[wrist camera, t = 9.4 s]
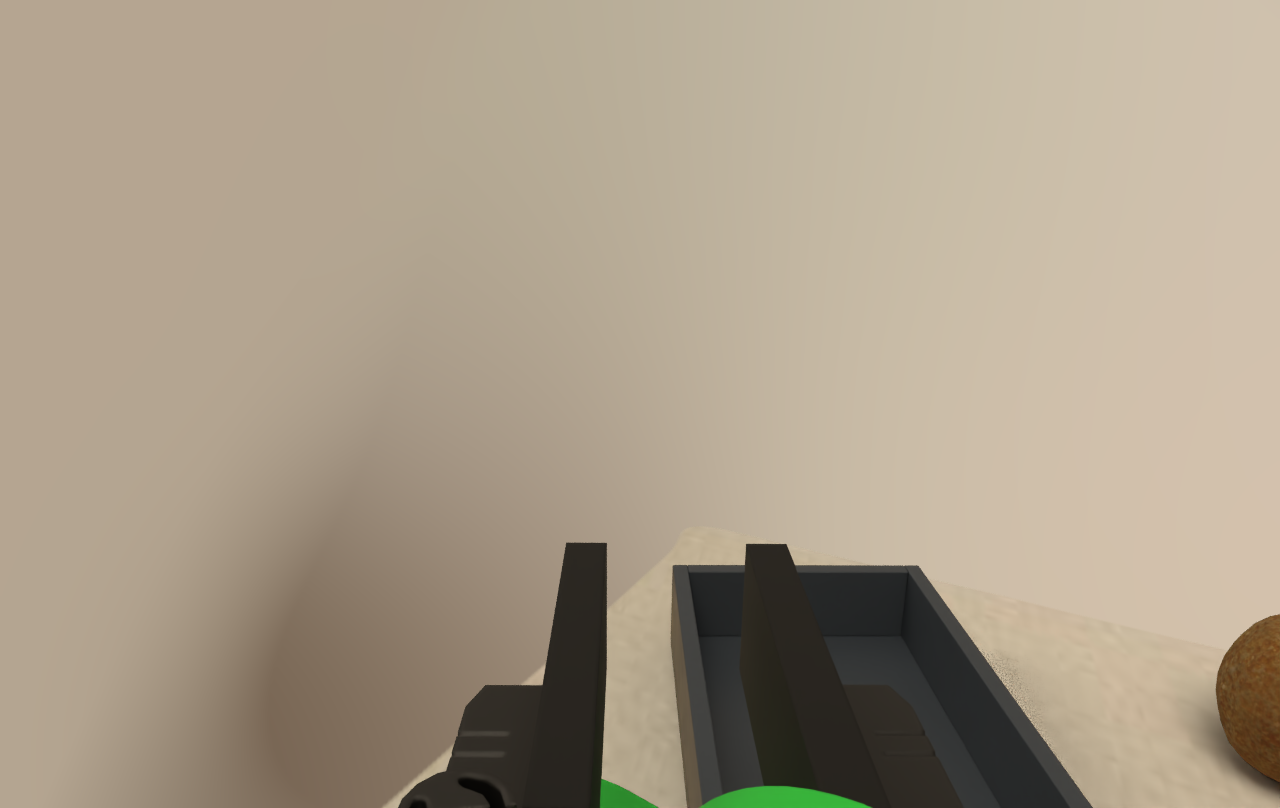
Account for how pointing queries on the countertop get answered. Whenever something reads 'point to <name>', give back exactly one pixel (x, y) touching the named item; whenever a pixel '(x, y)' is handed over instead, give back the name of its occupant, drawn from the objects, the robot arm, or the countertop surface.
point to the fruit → (1253, 696)
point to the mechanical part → (738, 798)
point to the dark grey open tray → (859, 682)
